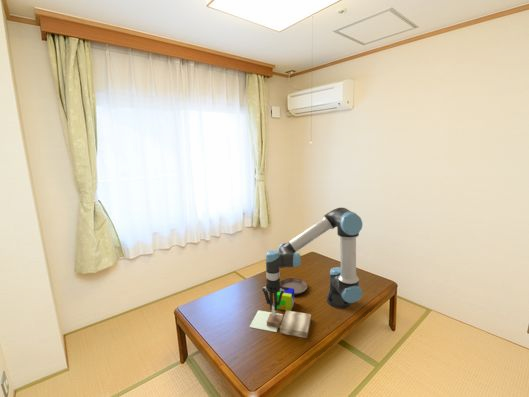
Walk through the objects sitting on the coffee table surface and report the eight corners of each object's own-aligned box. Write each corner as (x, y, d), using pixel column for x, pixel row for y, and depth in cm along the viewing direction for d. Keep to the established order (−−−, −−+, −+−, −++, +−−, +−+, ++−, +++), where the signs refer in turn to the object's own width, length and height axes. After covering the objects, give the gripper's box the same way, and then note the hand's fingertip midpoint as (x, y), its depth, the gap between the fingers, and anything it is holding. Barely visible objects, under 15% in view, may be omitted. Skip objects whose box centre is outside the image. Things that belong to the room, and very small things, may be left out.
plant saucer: (303, 299, 178) (303, 295, 178) (274, 294, 186) (274, 289, 185) (310, 284, 197) (310, 280, 197) (283, 280, 205) (283, 276, 204)
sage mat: (283, 314, 163) (282, 314, 163) (276, 332, 148) (276, 331, 148) (258, 310, 167) (258, 310, 167) (249, 327, 152) (249, 326, 152)
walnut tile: (283, 319, 158) (283, 315, 158) (280, 327, 151) (280, 324, 150) (270, 317, 160) (270, 313, 160) (266, 325, 153) (266, 321, 152)
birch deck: (310, 319, 158) (310, 314, 157) (307, 338, 143) (307, 332, 142) (286, 315, 162) (286, 310, 161) (279, 333, 147) (279, 327, 146)
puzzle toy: (294, 302, 175) (294, 288, 173) (290, 311, 166) (290, 296, 164) (279, 299, 179) (279, 286, 177) (275, 308, 169) (275, 294, 167)
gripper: (285, 275, 152) (286, 312, 157) (264, 273, 156) (265, 309, 161) (282, 282, 145) (283, 320, 150) (260, 279, 149) (261, 316, 154)
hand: (273, 314), depth 155 cm, fingers closed
